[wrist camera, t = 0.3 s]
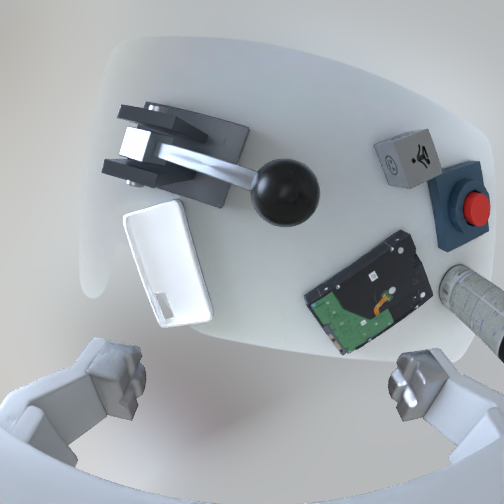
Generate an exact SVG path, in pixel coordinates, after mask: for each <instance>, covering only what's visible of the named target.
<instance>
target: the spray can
mask: <svg viewBox="0 0 504 504" xmlns="http://www.w3.org/2000/svg"><path fill="white" fill-rule="evenodd" d="M439 293H440V299H441V301H442V303H443V304H444V305H445V306H446V307H447V308H448V309H449V310H450V311H452V312H453V313H454V314H455V315H456V316H457V317H458V318H459V319H460V320H461V321H462V322H463V323H464V324H465V325H466V326H468V327H469V328H470V329H471V330H472V331H473V332H474V333H475V334H476V335H477V336H478V337H479V338H480V339H481V340H482V341H483V342H484V343H485V344H486V345H487V346H488V347H489V348H490V349H491V350H492V351H493V352H494V354H495V355H497V357H498V358H499V359H501V361H502V362H503V363H504V291H503V290H502V289H500V288H499V287H497V286H496V285H494V284H493V283H491V282H490V281H488V280H487V279H485V278H484V277H482V276H481V275H479V274H477V273H476V272H474V271H473V270H471V269H469V268H468V267H466V266H463V265H457V266H454V267H452V268H451V269H450V270H449V271H448V272H447V273H446V275H445V277H444V278H443V280H442V282H441V285H440V288H439Z"/></svg>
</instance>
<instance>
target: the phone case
mask: <svg viewBox="0 0 504 504" xmlns="http://www.w3.org/2000/svg"><path fill="white" fill-rule="evenodd" d="M123 224H124V227H125V231H126V234H127V237H128V241H129V244H130V247H131V250H132V253H133V256H134V259H135V262H136V265H137V268H138V271H139V274H140V277H141V280H142V282H143V285H144V288H145V290H146V293H147V295H148V298H149V301H150V303H151V306H152V309H153V311H154V314H155V316H156V319H157V321H158V323H159V324H160V326H161V327H163V328H167V327H175V326H182V325H189V324H197V323H203V322H210V321H211V320H212V317H213V308H212V304H211V301H210V298H209V295H208V292H207V288H206V285H205V282H204V279H203V275H202V272H201V269H200V265H199V262H198V258H197V255H196V251H195V248H194V244H193V241H192V237H191V233H190V230H189V226H188V222H187V219H186V215H185V211H184V207H183V205H182V203H181V201H180V200H178V199H176V200H172V201H169V202H165V203H162V204H158V205H155V206H151V207H148V208H144V209H141V210H138V211H135V212H131V213H128V214H126V215H124V217H123ZM162 292H165V294H166V297H167V299H168V302H169V305H170V308H171V310H172V313H173V316H174V318H168V319H165V317H164V315H163V313H162V310H161V308H160V305H159V302H158V299H157V297H156V294H157V293H162Z"/></svg>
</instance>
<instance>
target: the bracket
mask: <svg viewBox="0 0 504 504" xmlns="http://www.w3.org/2000/svg"><path fill="white" fill-rule="evenodd" d="M117 118H119V119H123V120H126V121H129V122H133V123H136V124H138V126H137V128H139V129H143V130H148V131H152V132H156V133H160V134H163V135H167V136H171V137H173V138H174V139H173V142H172V145H174V146H178V147H182V148H185V149H189V150H192V151H196V152H199V153H202V154H206V155H209V156H212V157H215V158H219V159H222V160H225V161H228V162H231V163H234V164H237V163H238V160H239V158H240V155H241V152H242V149H243V146H244V144H245V141H246V138H247V135H248V132H249V128H248V127H245V126H242V125H239V124H236V123H232V122H229V121H225V120H222V119H218V118H215V117H211V116H207V115H204V114H200V113H196V112H192V111H188V110H183V109H179V108H175V107H170V106H165V105H161V104H156V103H151V102H146V103H145V106H144V108H139V107H133V106H128V105H121V106H120V109H119V112H118V115H117ZM102 173H104V174H108V175H111V176H115V177H118V178H121V179H125V180H127V182H126V183H127V184H128V185H131V186H134V187H144V185H145V186H148V187H151V188H159V189H162V190H165V191H169V192H172V193H175V194H178V195H181V196H184V197H188V198H191V199H194V200H197V201H200V202H203V203H206V204H209V205H212V206H215V207H218V208H222V207H223V205H224V202H225V199H226V196H227V193H228V190H229V187H230V184H231V183H228V182H225V181H223V180H220V179H217V178H214V177H212V176H209V175H206V174H203V173H200V172H198V171H195V170H192V169H189V168H186V167H183V166H180V165H177V164H174V163H171V162H168V161H166V164H165V166H162V165H155V164H148V163H142V162H139V161H136V160H133V159H130V158H128V159H105V160H104V164H103V168H102Z"/></svg>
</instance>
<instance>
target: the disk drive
mask: <svg viewBox="0 0 504 504" xmlns="http://www.w3.org/2000/svg"><path fill="white" fill-rule="evenodd" d="M432 296H433V292H432V289H431V287H430V284H429V281H428V278H427V275H426V273H425V270H424V267H423V264H422V262H421V261H420V259H419V257H418V255H417V254H416V247H415V245H414V242H413V240H412V238H411V235H410V234H408V233H407V232H405V231H403V230H399V232H397V233H395V234H393V235H392V236H390V237H389V238H388V239H386V240H385V241H384V242H382V243H381V244H380V245H378V246H377V247H375V248H374V249H372V250H371V251H370V252H368V253H367V254H365V255H364V256H363V257H361V258H360V259H358V260H357V261H356V262H354V263H353V264H352V265H350V266H349V267H347V268H345V269H344V270H342V271H341V272H339V273H338V274H336V275H335V276H333V277H332V278H330V279H329V280H327V281H326V282H324V283H323V284H321V285H320V286H318V287H317V288H315V289H314V290H312V291H311V292H309V293H308V294H306V295H304V299H305V302H306V305H307V307H308V308H309V310H310V311H311V312H312V314H313V315H314V317H315V318H316V319H317V321H318V322H319V324H320V325H321V326H322V328H323V330H324V331H325V333H326V334H328V336H329V338H330V339H331V340H332V342H333V343H334V345H335V346H336V347H337V349H338V350H339V351H340V354H342V355H344V354H346V353H348V354H349V353H351V352H352V351H354V350H357V349H359V348H361V347H362V346H364V345H365V344H366V343H368V342H370V341H371V340H373V339H374V338H376V337H377V336H379V335H380V334H382V333H383V332H385V331H386V330H388V329H389V328H391V327H392V326H394V325H395V324H396V323H398V322H399V321H401V320H402V319H404V318H405V317H406V316H408V315H409V314H410V313H412V312H413V311H414V310H416V309H417V308H418V307H420V306H421V305H423V304H424V303H425V302H426V301H427V300H429V298H431V297H432Z"/></svg>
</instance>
